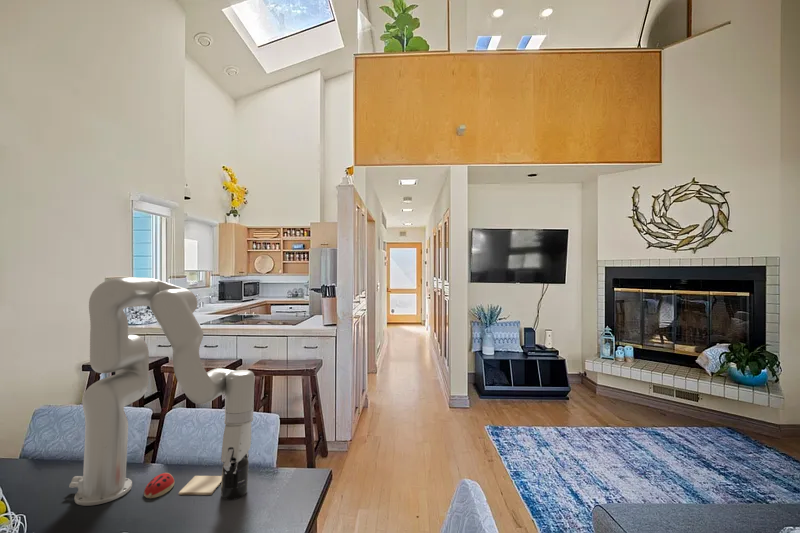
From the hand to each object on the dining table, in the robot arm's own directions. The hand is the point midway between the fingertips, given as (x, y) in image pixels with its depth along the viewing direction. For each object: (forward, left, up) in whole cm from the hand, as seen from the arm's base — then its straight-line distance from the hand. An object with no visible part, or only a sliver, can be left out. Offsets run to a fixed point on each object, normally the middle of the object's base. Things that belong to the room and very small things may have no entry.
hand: (236, 479), depth 107 cm
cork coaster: (-11, +4, -4) cm, 12 cm away
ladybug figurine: (-22, +2, -4) cm, 23 cm away
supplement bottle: (-1, 0, -4) cm, 4 cm away
